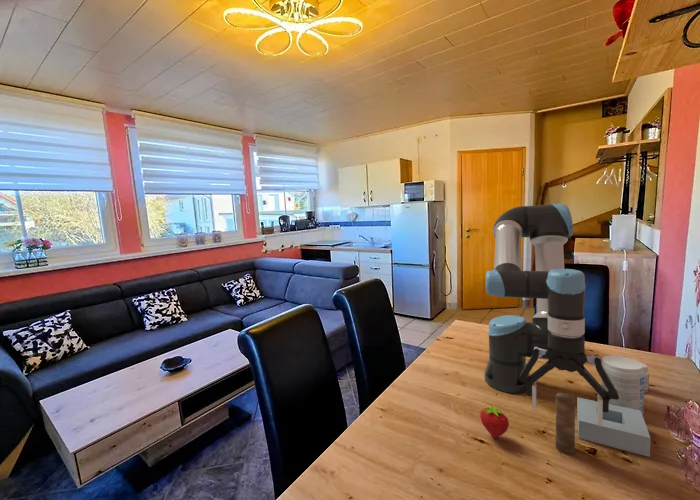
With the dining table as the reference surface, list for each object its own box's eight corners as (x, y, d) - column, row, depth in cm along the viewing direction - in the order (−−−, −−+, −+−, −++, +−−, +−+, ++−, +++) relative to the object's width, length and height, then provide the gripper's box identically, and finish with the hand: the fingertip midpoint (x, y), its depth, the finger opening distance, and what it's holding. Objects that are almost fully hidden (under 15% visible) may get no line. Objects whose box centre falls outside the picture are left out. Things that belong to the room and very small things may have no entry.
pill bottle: (652, 393, 102) (653, 368, 101) (634, 392, 103) (635, 367, 102) (642, 385, 107) (642, 361, 106) (625, 384, 108) (626, 360, 107)
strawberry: (501, 450, 83) (500, 414, 82) (475, 435, 89) (474, 401, 88) (514, 440, 86) (513, 405, 85) (488, 426, 92) (487, 393, 91)
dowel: (555, 451, 81) (555, 399, 80) (555, 441, 85) (556, 391, 83) (574, 456, 79) (575, 403, 78) (574, 446, 83) (574, 395, 81)
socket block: (578, 438, 85) (578, 420, 85) (577, 413, 95) (577, 397, 95) (649, 457, 78) (650, 437, 77) (640, 427, 87) (640, 410, 87)
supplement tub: (650, 421, 90) (652, 371, 88) (609, 417, 93) (610, 368, 91) (632, 401, 99) (633, 355, 97) (595, 398, 102) (596, 353, 100)
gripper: (507, 330, 82) (508, 409, 84) (636, 347, 68) (634, 440, 71) (511, 321, 89) (512, 395, 91) (630, 335, 75) (628, 421, 77)
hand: (565, 415), depth 81 cm, fingers open, 13 cm apart
